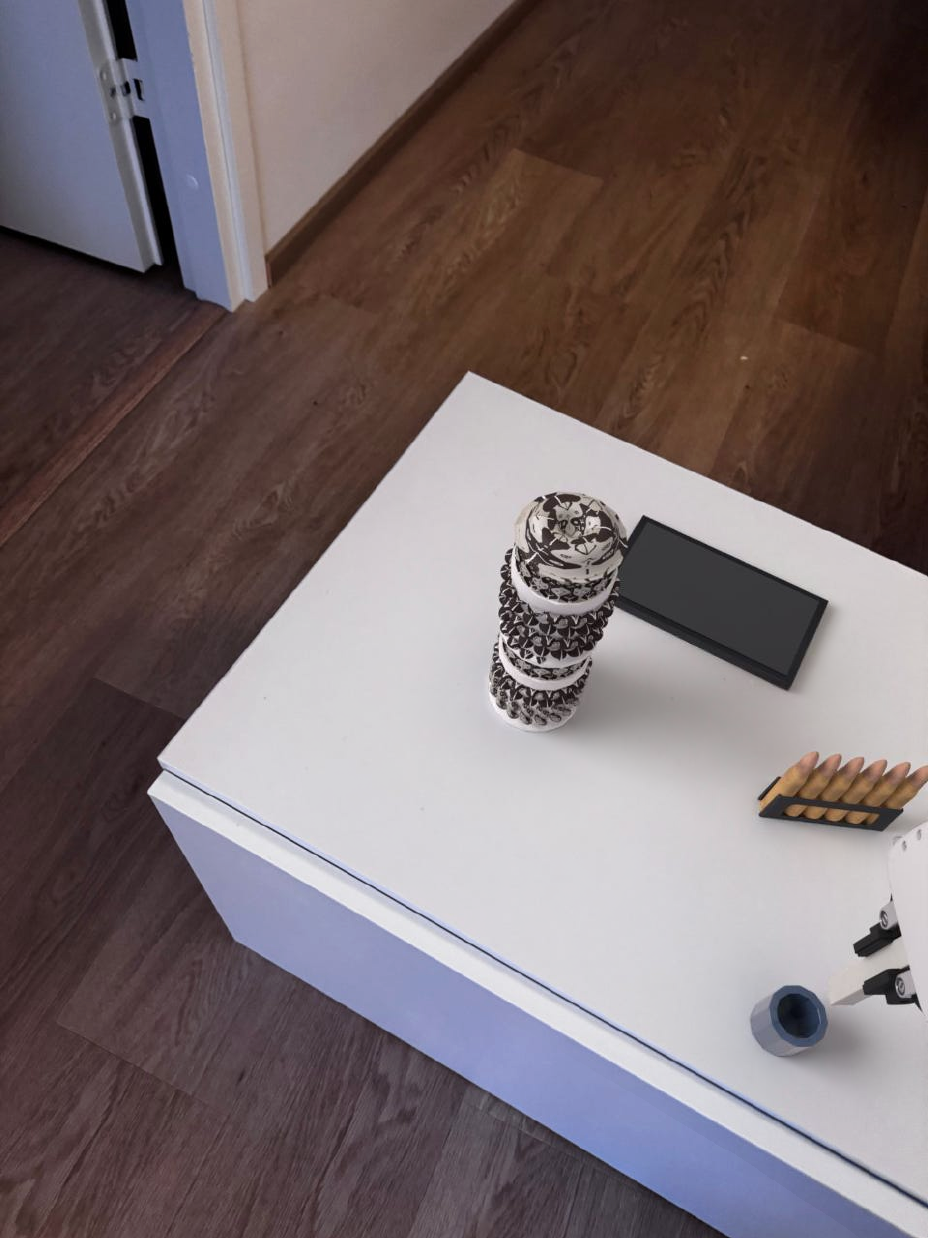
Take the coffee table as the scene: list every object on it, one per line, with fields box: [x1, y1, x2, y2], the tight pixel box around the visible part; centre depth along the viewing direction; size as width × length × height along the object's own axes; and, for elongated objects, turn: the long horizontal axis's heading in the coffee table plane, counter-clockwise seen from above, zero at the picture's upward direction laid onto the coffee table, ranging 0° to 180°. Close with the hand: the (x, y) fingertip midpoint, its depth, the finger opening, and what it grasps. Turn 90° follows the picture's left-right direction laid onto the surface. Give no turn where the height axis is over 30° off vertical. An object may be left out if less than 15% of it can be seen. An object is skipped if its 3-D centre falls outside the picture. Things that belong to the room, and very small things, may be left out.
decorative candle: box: [488, 491, 628, 733], centre depth 78 cm, size 9×9×25 cm
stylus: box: [825, 936, 910, 1006], centre depth 59 cm, size 2×2×14 cm
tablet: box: [606, 514, 830, 692], centre depth 95 cm, size 20×11×1 cm, turn 60°
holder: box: [749, 984, 829, 1057], centre depth 72 cm, size 4×4×5 cm
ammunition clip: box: [757, 751, 928, 832], centre depth 79 cm, size 11×2×12 cm, turn 84°
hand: (883, 969), depth 58 cm, fingers closed on stylus, 1 cm apart
